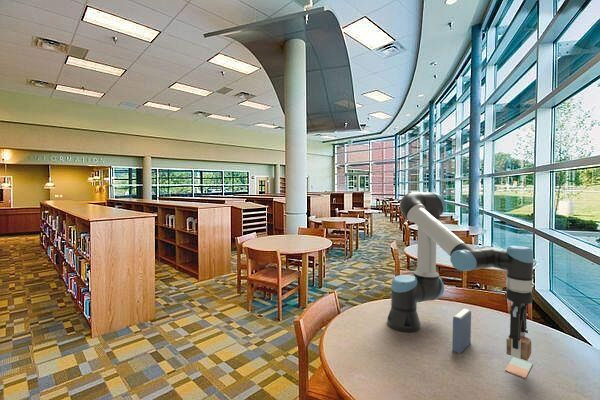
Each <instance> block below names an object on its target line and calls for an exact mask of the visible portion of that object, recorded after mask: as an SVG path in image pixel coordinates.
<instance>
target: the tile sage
mask: <svg viewBox="0 0 600 400" xmlns="http://www.w3.org/2000/svg"><path fill="white" fill-rule="evenodd" d="M509 363H510V364H513V365H515V366H518V367H521V368H524V369H526V370H529V372H530V371H531V369H532V366H533V363H531V362H528V361H526V360H523V359H520V358H517V357H514V356H512V358H511V359H510V361H509Z"/></svg>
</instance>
